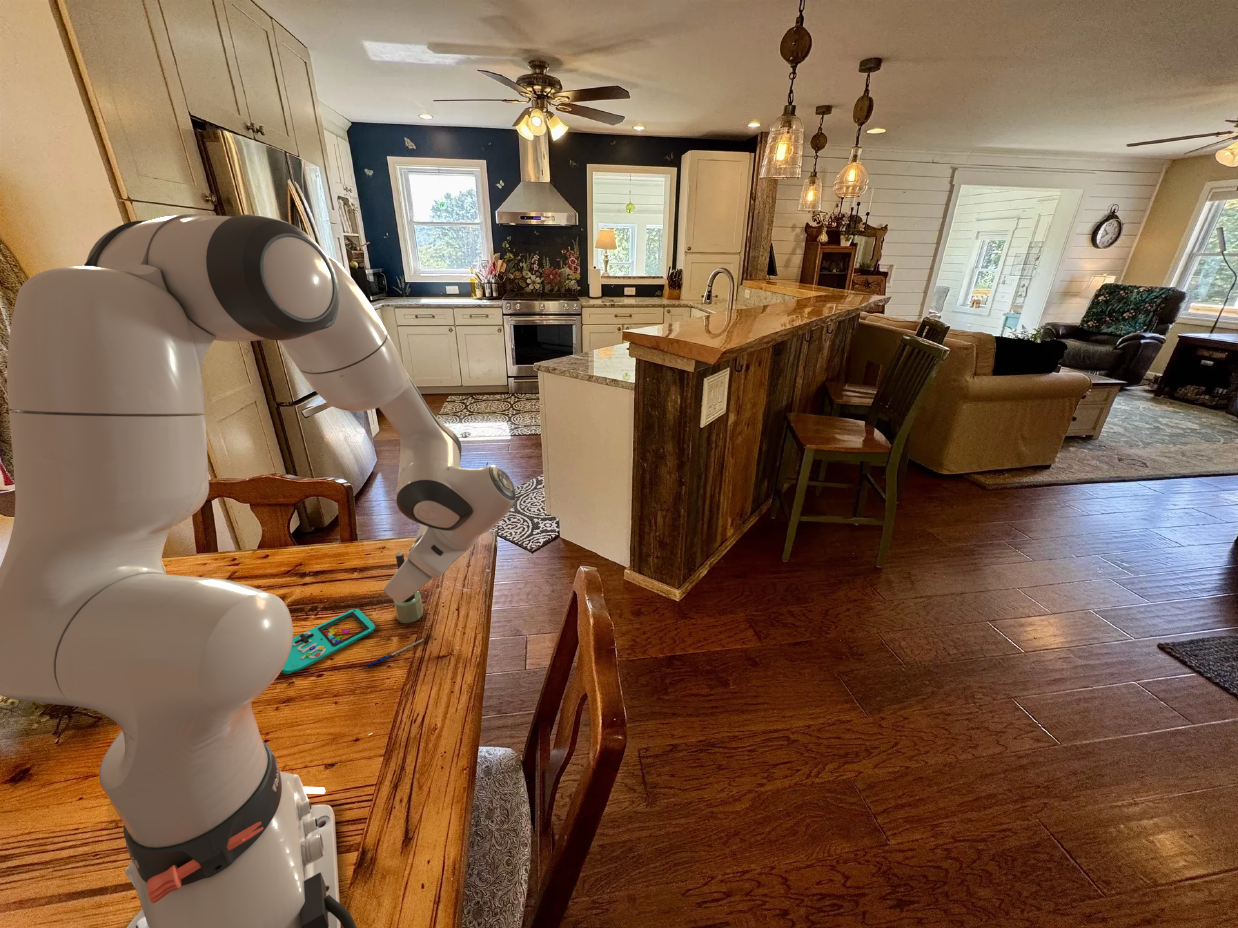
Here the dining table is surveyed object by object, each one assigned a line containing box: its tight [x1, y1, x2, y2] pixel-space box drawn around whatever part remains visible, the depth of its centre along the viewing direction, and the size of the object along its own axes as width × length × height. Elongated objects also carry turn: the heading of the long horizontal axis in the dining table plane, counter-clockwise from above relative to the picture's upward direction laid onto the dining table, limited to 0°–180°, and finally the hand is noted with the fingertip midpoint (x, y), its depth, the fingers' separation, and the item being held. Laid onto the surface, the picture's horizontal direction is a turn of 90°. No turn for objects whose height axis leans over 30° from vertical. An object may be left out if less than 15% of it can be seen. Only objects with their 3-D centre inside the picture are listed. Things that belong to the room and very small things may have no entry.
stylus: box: [395, 551, 412, 602], centre depth 91 cm, size 1×1×12 cm
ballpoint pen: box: [366, 637, 426, 668], centre depth 85 cm, size 10×1×1 cm, turn 135°
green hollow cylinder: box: [393, 590, 424, 624], centre depth 93 cm, size 5×5×4 cm
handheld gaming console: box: [280, 608, 376, 675], centre depth 87 cm, size 8×1×15 cm
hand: (400, 578), depth 91 cm, fingers closed on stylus, 1 cm apart
